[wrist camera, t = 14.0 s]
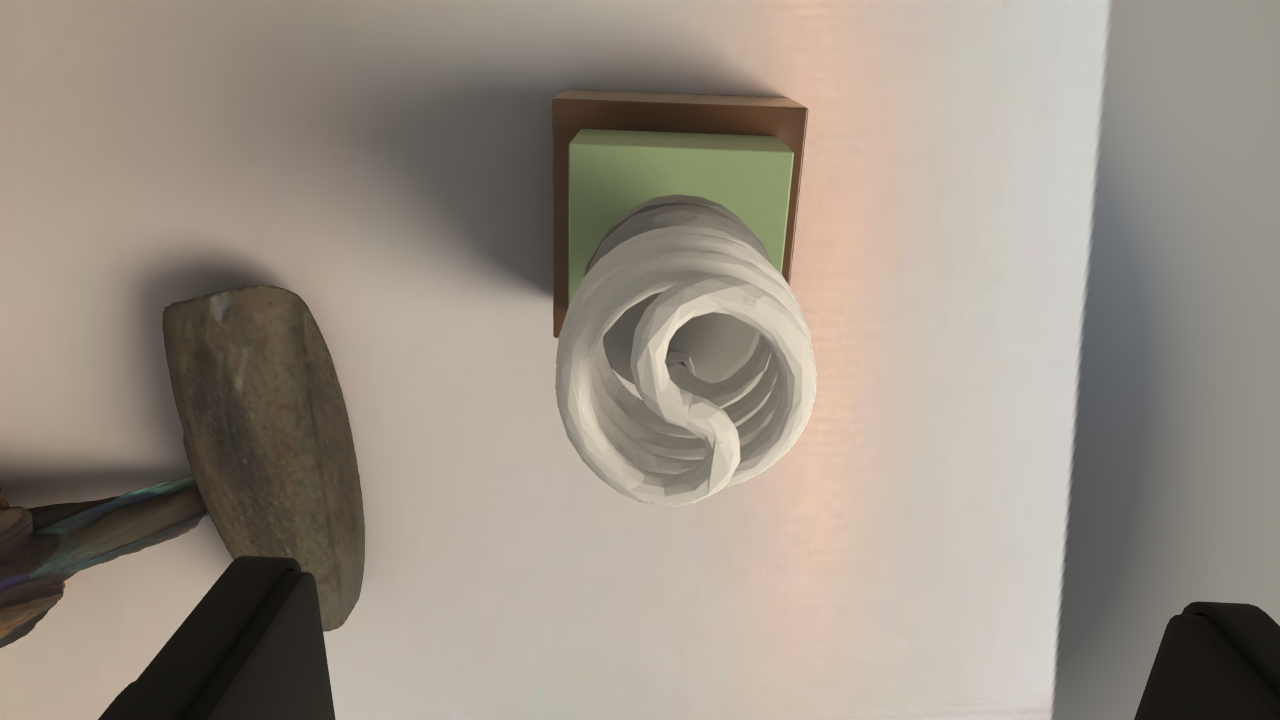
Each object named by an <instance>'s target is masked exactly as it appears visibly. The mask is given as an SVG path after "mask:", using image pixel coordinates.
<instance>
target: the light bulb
mask: <svg viewBox="0 0 1280 720" xmlns="http://www.w3.org/2000/svg"><path fill="white" fill-rule="evenodd" d="M556 363H557V367H556V395H557V403H558V408H559V411H560V415H561V418H562V421H563V424H564V427H565V430H566V433H567V436H568V438H569V440H570V441H571V443H572V444H573V446H574V448H575V449H576V451H577V452H578V454H579V455H580V457H581V459H582V460H583V461H584V462H585V463H586V465H587V466H588V467H589V468H590V469H591V470H592V471H593V472H594V473H595V474H596V475H597V476H598V477H599V478H600V479H602V480H603V481H604V482H606V483H607V484H608V485H610V486H611V487H612V488H614V489H615V490H616V491H618V492H619V493H620V494H622V495H624V496H627V497H629V498H632V499H634V500H636V501H639V502H641V503H646V504H652V505H657V506H663V507H672V506H681V505H690V504H693V503H695V502H697V501H699V500H702V499H704V498H706V497H708V496H710V495H712V494H714V493H717V492H718V491H719V490H721V489H722V488H724V487H728V486H732V485H736V484H740V483H742V482H744V481H746V480H748V479H750V478H752V477H754V476H756V475H758V474H760V473H762V472H764V471H765V470H766V469H768V468H769V467H770V466H772V465H773V464H774V463H776V462H777V461H778V460H779V459H780V458H781V457H782V456H783V455H784V454H786V453H787V452H788V451H789V450H790V449H791V448H792V446H793V445H794V444H795V442H796V441H797V439H798V438H799V436H800V435H801V433H802V432H803V430H804V428H805V426H806V424H807V422H808V420H809V418H810V415H811V411H812V408H813V404H814V400H815V396H816V375H817V371H816V365H815V360H814V355H813V350H812V343H811V335H810V332H809V329H808V326H807V323H806V321H805V318H804V315H803V312H802V311H801V309H800V307H799V304H798V302H797V299H796V297H795V294H794V293H793V291H792V290H791V288H790V286H789V285H788V283H787V282H786V280H785V279H784V277H783V276H782V274H781V273H780V272H779V271H778V270H777V269H776V268H775V267H774V266H772V264H771V262H770V259H769V257H768V254H767V252H766V249H765V246H764V244H763V243H762V242H761V241H760V240H759V239H758V238H757V237H756V235H755V234H754V233H753V232H752V231H751V230H750V229H749V228H748V227H747V226H746V225H745V224H744V223H743V222H742V221H741V219H740V218H739V217H738V216H737V215H735V214H734V213H732V212H731V211H730V210H728V209H727V208H725V207H724V206H723V205H721V204H719V203H716V202H713V201H711V200H708V199H706V198H703V197H698V196H688V195H677V194H676V195H669V196H661V197H653V198H652V199H650V200H648V201H646V202H644V203H642V204H640V205H638V206H636V207H634V208H632V209H631V210H629V211H627V212H626V213H625V214H624V215H623V216H622V217H621V218H620V219H619V220H618V221H617V222H616V223H615V224H614V225H613V226H612V227H611V228H610V229H609V230H608V231H607V232H606V234H605V235H604V236H603V238H602V239H601V241H600V243H599V244H598V246H597V248H596V250H595V251H594V253H593V255H592V257H591V258H590V260H589V262H588V263H587V265H586V269H585V277H584V278H583V280H582V281H581V283H580V285H579V287H578V289H577V291H576V293H575V295H574V297H573V299H572V301H571V302H570V304H569V308H568V311H567V314H566V317H565V320H564V323H563V326H562V329H561V332H560V335H559V342H558V351H557V360H556ZM612 369H613V370H615V371H616V372H617V373H618V374H619V375H620V376H621V377H623V378H624V379H626V380H628V381H629V382H631V383H633V384H634V385H635V386H636V389H637V391H638V392H639V394H640V396H641V398H642V399H643V401H644V402H643V401H642V400H640V399H639V398H637V397H636V396H635V395H633V394H632V393H631V392H630V391H629V390H628V389H627V388H626V387H625V386H624V385H623V384H622V383H621V382H620V380H619V379H618V377H617V376H616V374H615V373H614V372H613V370H612Z"/></svg>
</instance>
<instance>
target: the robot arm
mask: <svg viewBox="0 0 1280 720" xmlns="http://www.w3.org/2000/svg"><path fill="white" fill-rule="evenodd" d="M98 720H335V714H334V707H333V700H332V693H331V686H330V679H329V671H328V664H327V657H326V650H325V643H324V636H323V629H322V622H321V615H320V608H319V600H318V593H317V586H316V581H315V577H314V576H313V574H312V573H310V572H301V568H300V565H299V563H298V562H297V560H296V559H293V558H287V557H267V556H246V555H243V556H240V557H237V558H236V559H235V560H234V561H233V562H232V563H231V564H230V565H229V567H228V568H227V569H226V570H225V572H224V573H223V574H222V575H221V576H220V578H219V579H218V580H217V581H216V583H215V584H214V585H213V586H212V588H211V589H210V590H209V591H208V593H207V594H206V595H205V596H204V597H203V599H202V600H201V601H200V602H199V604H198V605H197V606H196V607H195V609H194V610H193V611H192V612H191V614H190V615H189V616H188V617H187V618H186V620H185V621H184V622H183V623H182V625H181V626H180V627H179V628H178V630H177V631H176V632H175V633H174V635H173V636H172V637H171V638H170V639H169V641H168V642H167V643H166V644H165V646H164V647H163V648H162V649H161V651H160V652H159V653H158V654H157V655H156V657H155V658H154V659H153V660H152V662H151V663H150V664H149V665H148V667H147V668H146V669H145V670H144V672H143V673H142V674H141V675H140V676H139V678H138V679H137V680H136V681H134V682H132V683H130V684H129V685H128V686H127V687H126V688H125V689H124V690H123V691H122V692H121V693H120V694H119V695H118V696H117V697H116V698H115V700H114V701H113V702H112V703H111V704H110V706H109V707H108V708H107V709H106V711H105V712H104V713H103V714H102V715H101V717H100V718H99V719H98ZM1134 720H1280V626H1279V625H1278V624H1277V623H1276V622H1275V621H1274V620H1273V619H1272V618H1271V617H1269V615H1268V614H1266V613H1265V612H1264V611H1262V610H1261V609H1260V608H1259V607H1257V606H1253V605H1250V604H1238V603H1217V602H1193V603H1190V604H1189V605H1188V606H1187V607H1185V608H1184V610H1183V612H1182V614H1180V615H1175V616H1174V617H1172V618H1171V619H1170V621H1169V623H1168V624H1167V627H1166V630H1165V633H1164V635H1163V638H1162V641H1161V644H1160V647H1159V650H1158V653H1157V655H1156V658H1155V661H1154V664H1153V667H1152V670H1151V673H1150V676H1149V679H1148V681H1147V685H1146V687H1145V690H1144V693H1143V696H1142V699H1141V702H1140V705H1139V708H1138V710H1137V713H1136V716H1135V719H1134Z"/></svg>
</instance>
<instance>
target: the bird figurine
mask: <svg viewBox="0 0 1280 720" xmlns="http://www.w3.org/2000/svg"><path fill="white" fill-rule="evenodd" d="M208 514H209V512H208V510H207V507H206V505H205V503H204V500H203V498H202V496H201V494H200V492H199V489H198V487H197V484H196V481H195V478H194V475H192V476H188V477H185V478H182V479H179V480H173V481H169V482H163V483H160V484H158V485H155V486H152V487H149V488H145V489H140V490H136V491H132V492H129V493H126V494H124V495H122V496H117V497H111V498H107V499H102V500H97V501H87V502H81V503H65V504H55V505H48V506H42V507H35V508H30V509H25V508H23V507H20V506H18V507H9V503H8V502H7V501H6V499H5V498H4V497H3V495H2V493H1V489H0V648H2V647H4V646H6V645H8V644H10V643H13V642H15V641H16V640H18V639H19V638H21V637H23V636H25V635H27V634H28V633H29V632H30V631H31V630H32V629H33V628H34V627H35V625H36V623H37V622H38V621H40V620H41V619H42V618H43V617H44V616H45V615H46V614H47V612H48V610H49V609H51V608H52V607H53V606H55V604H56V603H57V601H59V600H60V599H61V598H62V596H63V590H64V588H65V583H64V581H65V580H66V579H68V578H70V577H71V576H73V575H74V574H75V573H77V572H78V571H80V570H83V569H86V568H89V567H91V566H94V565H97V564H100V563H105V562H108V561H111V560H113V559H115V558H117V557H119V556H122V555H126V554H130V553H134V552H138V551H140V550H142V549H144V548H146V547H150V546H153V545H156V544H159V543H161V542H164V541H166V540H170V539H173V538H175V537H178V536H180V535H182V534H184V533H186V532H188V531H189V530H191V529H192V528H195V527H196V526H197V525H198V523H199V521H200V520H201V519H202V517H204V516H206V515H208Z"/></svg>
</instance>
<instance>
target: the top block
mask: <svg viewBox="0 0 1280 720" xmlns="http://www.w3.org/2000/svg"><path fill="white" fill-rule="evenodd" d="M793 159H794V152H793V151H792V150H791V149H790V148H789V147H787V146H786V145H785V144H784V143H783V142H782V141H781V140H780V139H779V138H778V137H776V136H756V135H730V134H704V133H677V132H651V131H625V130H599V129H581V130H580V131H579V132H578V133H577V135H576V136H575V137H574V139H573V140H572V141H571V142H570V144H569V304H570V302H571V301H572V299H573V297H574V295H575V293H576V291H577V289H578V287H579V285H580V283H581V281H582V280H583V278H584V277H585V269H586V265H587V263H588V262H589V260H590V258H591V257H592V255H593V253H594V251H595V250H596V248H597V246H598V244H599V243H600V241H601V239H602V238H603V236H604V235H605V234H606V232H607V231H608V230H609V229H610V228H611V227H612V226H613V225H614V224H615V223H616V222H617V221H618V220H619V219H620V218H621V217H622V216H623V215H624V214H625V213H626V212H627V211H629V210H631V209H632V208H634V207H636V206H638V205H640V204H642V203H644V202H646V201H648V200H650V199H652V198H653V197H661V196H669V195H676V194H677V195H688V196H698V197H703V198H706V199H708V200H711V201H713V202H716V203H719V204H721V205H723V206H724V207H725V208H727V209H728V210H730V211H731V212H732V213H734V214H735V215H737V216H738V217H739V218H740V219H741V221H742V222H743V223H744V224H745V225H746V226H747V227H748V228H749V229H750V230H751V231H752V232H753V233H754V234H755V235H756V237H757V238H758V239H759V240H760V241H761V242H762V243H763V244H764V246H765V249H766V252H767V254H768V257H769V259H770V262H771V264H772V266H774V267H775V268H776V269H777V270H778V271H779V272H780V273H781V274H782V266H783V257H784V247H785V237H786V227H787V218H788V208H789V198H790V188H791V179H792V169H793Z"/></svg>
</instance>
